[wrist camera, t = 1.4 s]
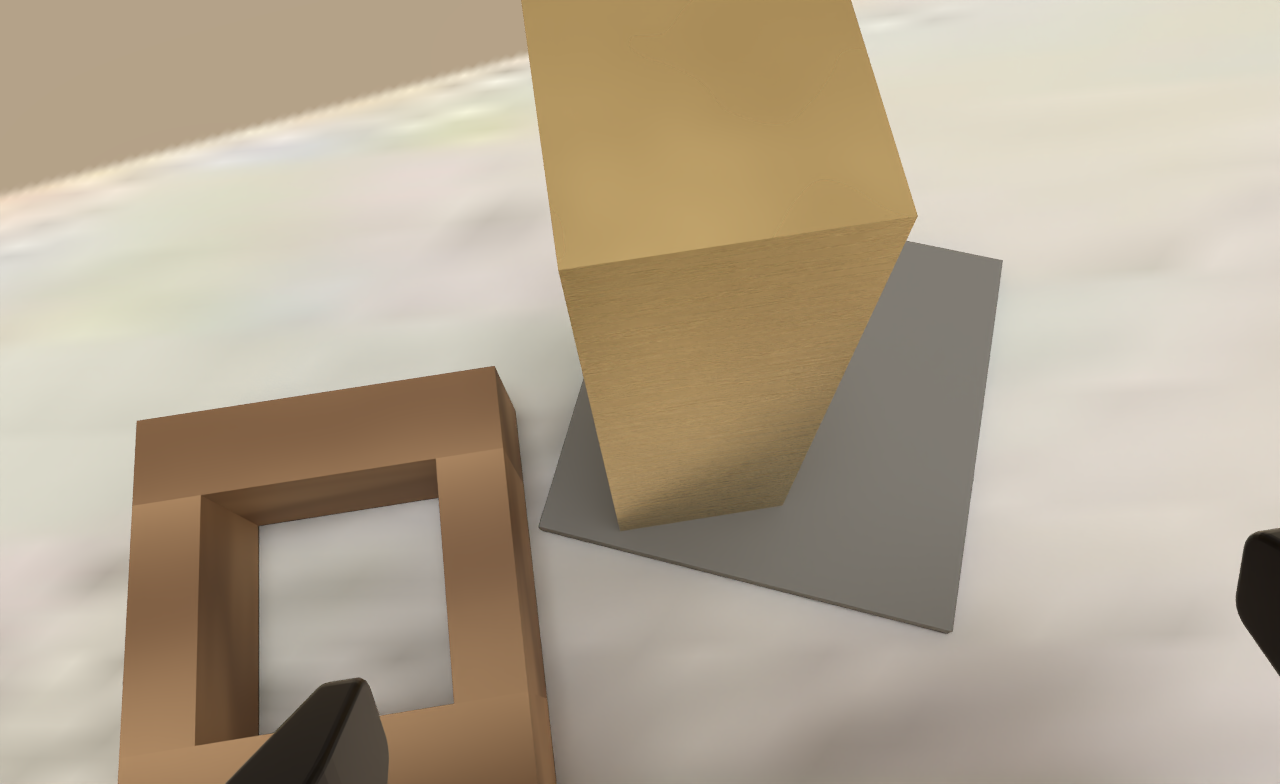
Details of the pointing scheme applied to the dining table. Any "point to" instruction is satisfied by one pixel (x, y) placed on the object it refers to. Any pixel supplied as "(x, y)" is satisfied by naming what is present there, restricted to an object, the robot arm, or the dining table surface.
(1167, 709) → the dining table surface
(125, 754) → the socket block
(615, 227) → the pin
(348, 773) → the robot arm
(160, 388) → the dining table surface
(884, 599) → the mat
